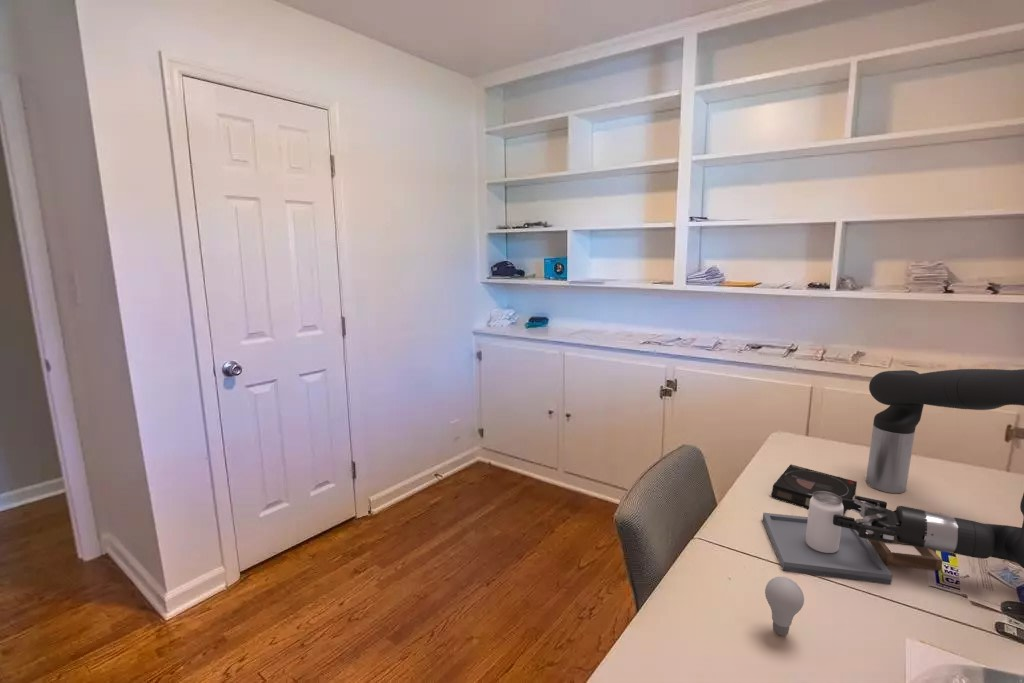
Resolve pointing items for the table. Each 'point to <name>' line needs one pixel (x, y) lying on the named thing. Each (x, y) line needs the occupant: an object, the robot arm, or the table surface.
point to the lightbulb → (783, 602)
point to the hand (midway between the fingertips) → (832, 510)
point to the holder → (908, 557)
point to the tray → (846, 563)
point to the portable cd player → (810, 486)
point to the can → (824, 522)
